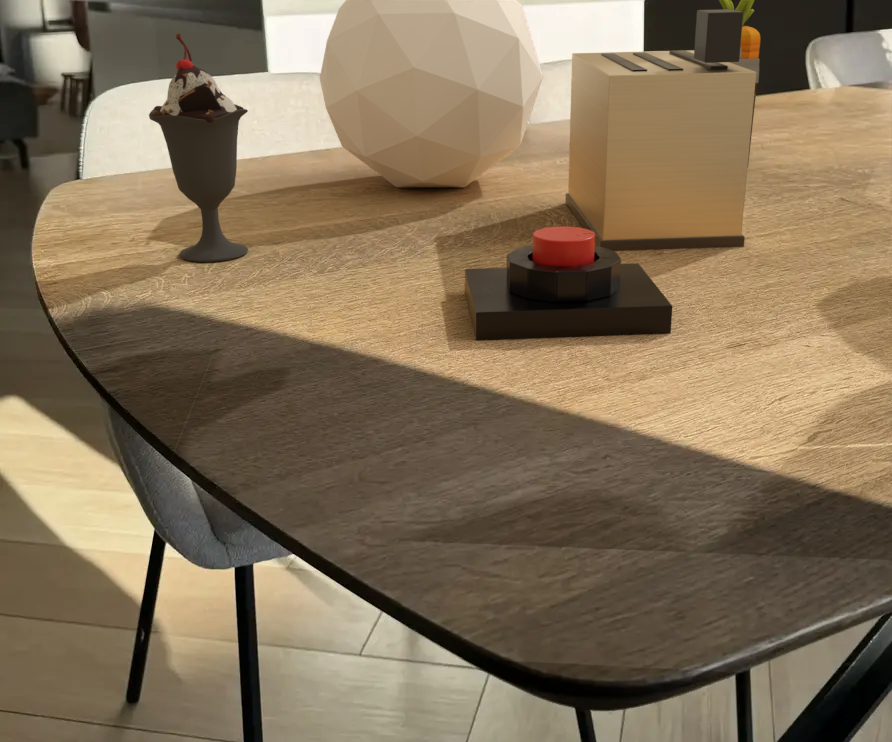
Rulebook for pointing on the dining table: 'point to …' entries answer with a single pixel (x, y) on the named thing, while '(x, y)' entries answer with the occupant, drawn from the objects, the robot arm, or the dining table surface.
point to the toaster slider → (718, 35)
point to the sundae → (202, 152)
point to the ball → (430, 86)
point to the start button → (563, 246)
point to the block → (564, 299)
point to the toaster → (659, 149)
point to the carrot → (746, 29)
